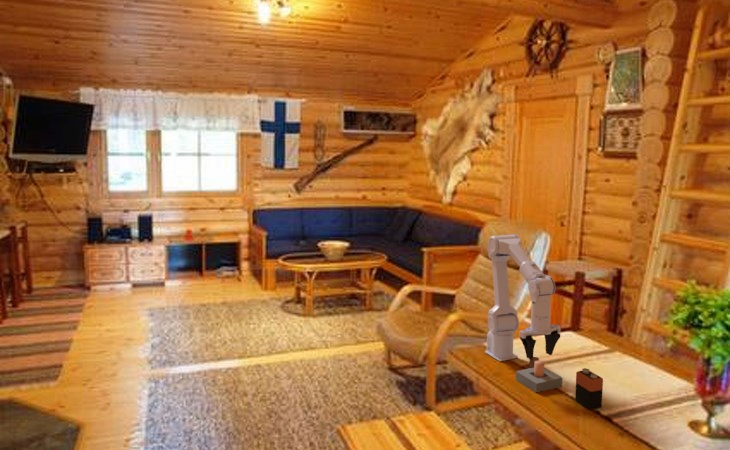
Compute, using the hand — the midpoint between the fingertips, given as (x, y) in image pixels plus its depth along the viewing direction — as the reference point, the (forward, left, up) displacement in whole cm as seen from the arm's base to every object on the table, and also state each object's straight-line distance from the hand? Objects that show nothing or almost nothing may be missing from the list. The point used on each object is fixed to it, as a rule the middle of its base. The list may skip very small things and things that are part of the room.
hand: (539, 356), depth 176 cm
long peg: (0, 0, -9) cm, 9 cm away
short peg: (-9, +5, -9) cm, 14 cm away
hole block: (0, 0, -9) cm, 9 cm away
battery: (+17, +4, -9) cm, 20 cm away
